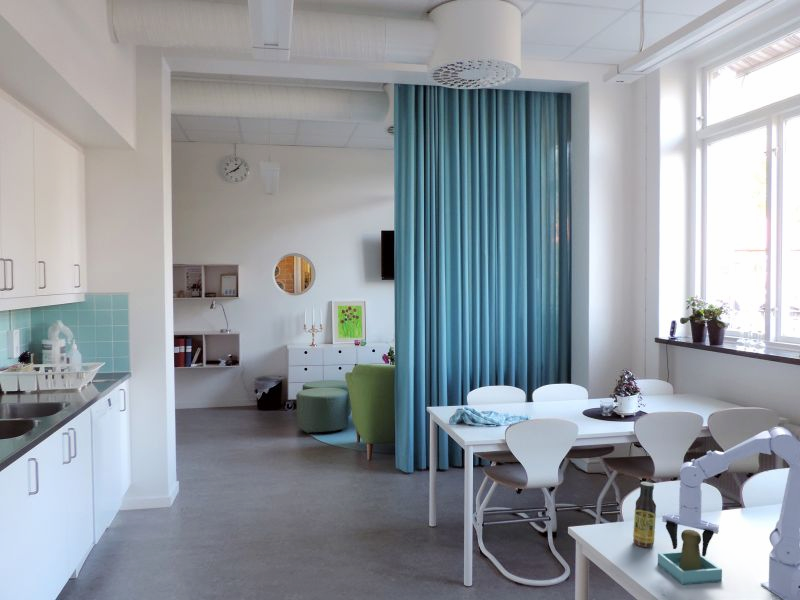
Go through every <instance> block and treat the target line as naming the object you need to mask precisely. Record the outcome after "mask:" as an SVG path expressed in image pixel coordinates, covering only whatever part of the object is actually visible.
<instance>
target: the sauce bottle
mask: <svg viewBox="0 0 800 600" xmlns="http://www.w3.org/2000/svg"><path fill="white" fill-rule="evenodd" d="M639 488H640V490H639V491H640V493H639V497H638V498H637V500H636V501H635V510H634V518H633V521H634V522H633V534H632V536H633V540H632V541H633V543H634V545H636V546H639V547H642V548H648V549H649V548H651V547H653V546H654V543H655V536H656V535H655V533H656V530H655V529H656V517H657V516H656V515H657V514H656V512H657V505H656V503H655V501H654V499H653V498H654V495H653V494H654V493H653V492H654V488H655V485H654V484H653V483H652V482H649V481H641V482H640V484H639Z"/></svg>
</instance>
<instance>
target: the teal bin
mask: <svg viewBox="0 0 800 600" xmlns="http://www.w3.org/2000/svg"><path fill="white" fill-rule="evenodd" d="M681 552H682V550H680V551H679V550H678V551H676V550H675V551H667V552H665V551H664V552H658V553H657V565H658V566H659V567H661V569H663V570H664V571H665V572H666V573H667V574H669V575H670V576H672V577H673V579H675V580H676V581H677V582H679V583H680V584H681V585H682V586H683V585H685V586H686V585H696V584H710V583H711V584H712V583H721V582H722V581H723V569H722V568H721V567H719V566H718V565H717V564H715V563H714V562H712V561H711V560H710V559H708V558H707V557H706V556H705V557H704V556H702V553H700V558H701V566H702V570H689V571H683V570H682V569H681V568H680V567H679V564H680V558H681Z"/></svg>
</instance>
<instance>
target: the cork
mask: <svg viewBox="0 0 800 600" xmlns="http://www.w3.org/2000/svg"><path fill="white" fill-rule="evenodd" d="M680 536H681V538H680V539H681V540H682V546H681V547H682V548H681V551H682V552H681V558H680V564H679V567H680V568H681V569H682V570H683V571H689V570H702V566H701V558H700V554H701V552H700V551H701V550H700V544H701V543H702V536H701V534H700V533H699V531H696V530H693V529H684V530H683V531H682V532H681V535H680Z"/></svg>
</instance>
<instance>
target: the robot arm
mask: <svg viewBox="0 0 800 600" xmlns="http://www.w3.org/2000/svg"><path fill="white" fill-rule="evenodd" d="M772 452H773V453H775V455H777V456H778V457H779V458H781V459H783V460H785V462H786V463H787V465H788V466H789V469H788V474H787V479H786V483H785V489H784V494H783V500H782V504H781V507H780V514H779V519H778V521H776V523H775V528H774V529H773V530H772V531H771V532H770V533H769V536H768V537H769V542H770V544H771V546H772V550H771V551H769V555H768V556H769V559H768V562H769V563H768V564H769V565H768V581H761V582H760V585H761V586H762V587H764V588H766V589H767V590H769V591H770V592H771V593H773V594H775V595H776V596H778V597H779V598H780V599H782V600H800V441H799V439H798V437H796V435H794V434H793V433H792V432H791V431H790V430H789V429H787V428H786V427H782V426H774V427H772V428H770V429H769V430H764V431H761V432H760V433H758V434H756V435H753V436H752V437H750V438H748V439H746V440H744V441H743V442H740V443H738V444H736V445H735V446H732V447H731V448H729V449H726V450H725V451H718V450H714V451H712V450H708V451H706V454H705V455H703V456H700V457H699V458H696V459H695V458H693V459H691V460H690V461H686V462H684V463H682V464H681V466H680V468H679V469H678V471H679V479H680V481H679V486H680V487H679V496H678V498H679V504H678V505H679V508H678V514H670V513H663V514H662V519H661V520H662V522H663V523H666V524H665V529H666V531H667V534H668V535H669V537H670V540H671V544H672V548H673V550H676V549H677V548H678V526H679V525H680V526H684V527H689V528H693V529H698V530H702V533H701V535H702V536H701V539H702V549H701V550H702V551H701V552H702V553H701V555H702V556H704V557H705V558H706V556H707V551H708V547H709V544H710V541H711V540H712V538H713V536H714V534H716V535H718V534H719V531H720V530H719V528H720V527H719V526H720V525H719V524H715V523H713V522H709V521H706V520H703V519H702V494H703V493H702V491H703V490H702V489H701V485H702V484H703V481H704V480H707V479H710V478H712V477H714V476H717V475H718V474H721V473H723V472H725V471H728V470H729V467H730V464H731V463H733V462H736V461H739V460H742V459H744V458H747V457H749V456H751V455H754V454H757V453H761V454H765V455H772Z"/></svg>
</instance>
